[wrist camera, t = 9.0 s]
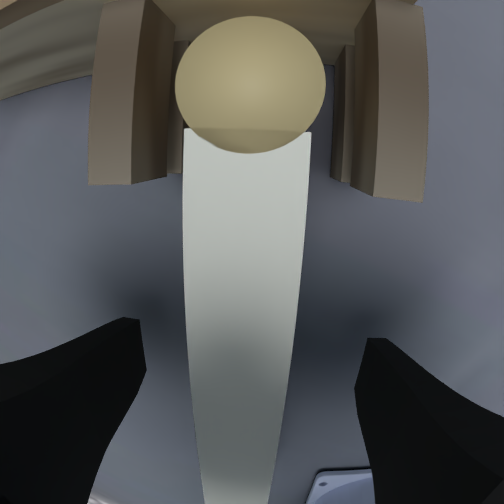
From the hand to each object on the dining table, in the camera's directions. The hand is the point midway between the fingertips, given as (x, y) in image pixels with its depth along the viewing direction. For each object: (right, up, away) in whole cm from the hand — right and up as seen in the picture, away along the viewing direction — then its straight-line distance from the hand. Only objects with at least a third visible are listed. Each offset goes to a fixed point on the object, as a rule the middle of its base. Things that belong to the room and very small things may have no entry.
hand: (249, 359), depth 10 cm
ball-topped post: (0, 0, +3) cm, 3 cm away
